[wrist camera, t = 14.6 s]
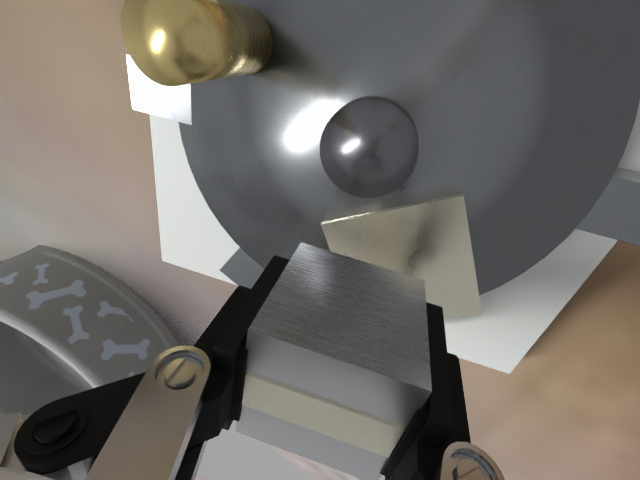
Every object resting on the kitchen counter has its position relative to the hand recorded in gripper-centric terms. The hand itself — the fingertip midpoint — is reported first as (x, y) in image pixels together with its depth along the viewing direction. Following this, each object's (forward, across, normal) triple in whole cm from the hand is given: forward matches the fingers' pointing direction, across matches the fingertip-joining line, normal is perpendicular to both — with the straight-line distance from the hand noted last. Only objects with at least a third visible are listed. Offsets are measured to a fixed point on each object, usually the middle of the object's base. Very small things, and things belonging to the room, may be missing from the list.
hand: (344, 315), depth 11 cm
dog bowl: (+6, +19, +17) cm, 26 cm away
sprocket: (+4, +1, -5) cm, 7 cm away
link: (0, 0, 0) cm, 1 cm away
